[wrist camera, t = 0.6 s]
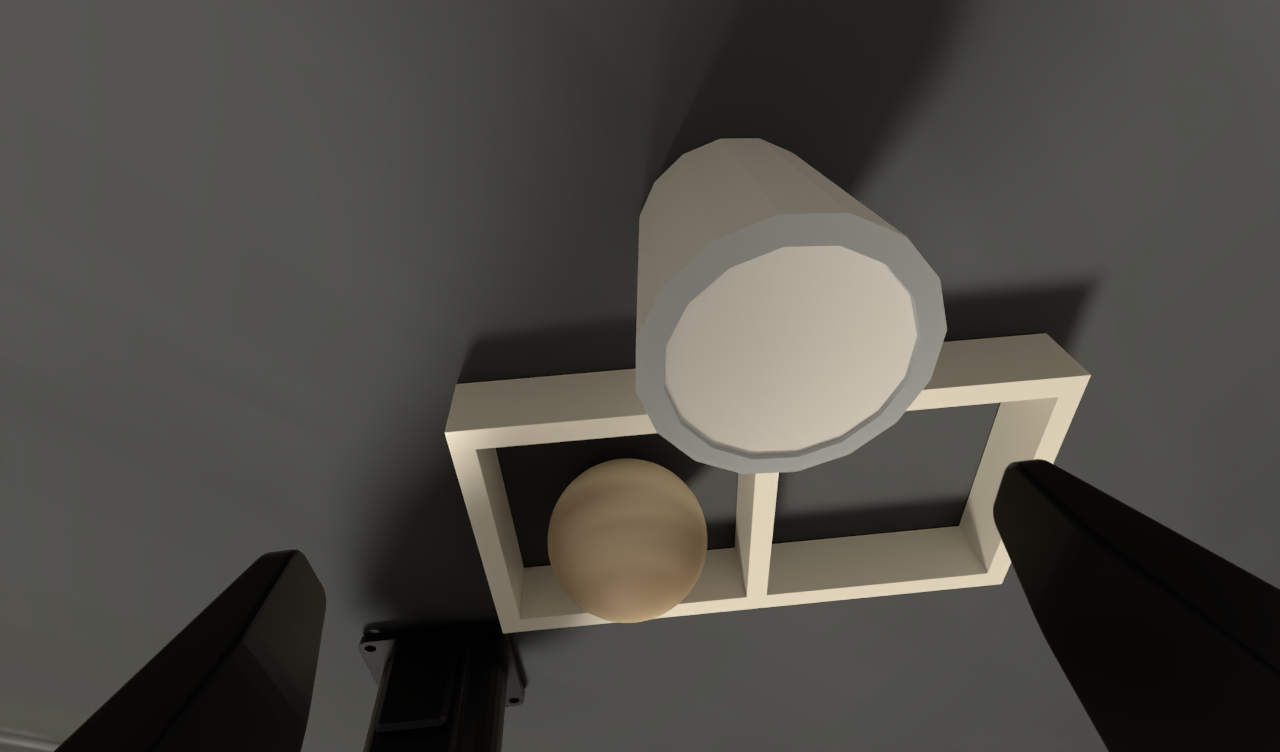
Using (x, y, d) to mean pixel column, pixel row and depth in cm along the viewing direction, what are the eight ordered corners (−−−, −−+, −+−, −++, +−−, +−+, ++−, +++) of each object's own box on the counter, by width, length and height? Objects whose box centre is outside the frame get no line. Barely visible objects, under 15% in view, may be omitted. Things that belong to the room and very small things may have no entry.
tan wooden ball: (695, 524, 28) (718, 648, 23) (559, 537, 27) (556, 664, 23) (695, 419, 24) (722, 540, 20) (540, 433, 24) (532, 558, 20)
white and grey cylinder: (877, 256, 21) (988, 390, 15) (690, 363, 23) (728, 517, 17) (783, 59, 17) (883, 140, 12) (570, 204, 19) (568, 333, 14)
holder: (972, 536, 30) (1001, 583, 27) (508, 581, 29) (503, 633, 27) (1046, 333, 23) (1091, 375, 21) (456, 384, 23) (444, 432, 21)
